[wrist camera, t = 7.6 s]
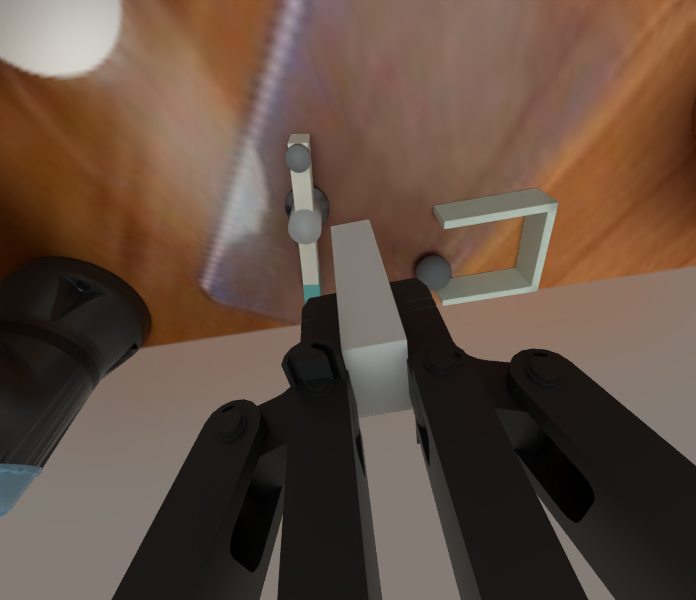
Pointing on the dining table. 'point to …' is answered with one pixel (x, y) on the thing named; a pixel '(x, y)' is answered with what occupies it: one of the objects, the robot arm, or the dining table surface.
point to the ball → (434, 272)
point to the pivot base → (317, 194)
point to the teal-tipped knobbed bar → (305, 212)
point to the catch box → (531, 247)
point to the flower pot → (694, 118)
